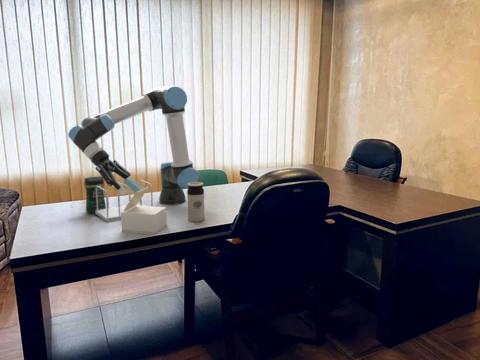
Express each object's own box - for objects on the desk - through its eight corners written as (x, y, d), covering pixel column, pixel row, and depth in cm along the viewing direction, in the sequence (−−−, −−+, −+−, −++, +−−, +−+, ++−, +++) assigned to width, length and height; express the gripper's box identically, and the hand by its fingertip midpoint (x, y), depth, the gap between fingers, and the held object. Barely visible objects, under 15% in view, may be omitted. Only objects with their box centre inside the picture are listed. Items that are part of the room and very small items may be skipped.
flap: (125, 211, 165) (109, 198, 165) (136, 205, 174) (122, 193, 175) (137, 192, 161) (122, 179, 162) (148, 187, 171) (134, 175, 172)
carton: (121, 232, 166) (120, 212, 164) (135, 223, 177) (134, 205, 176) (155, 234, 162) (154, 214, 160) (167, 226, 174) (166, 207, 172)
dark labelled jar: (188, 217, 187) (187, 182, 183) (204, 216, 188) (203, 181, 184) (187, 222, 179) (186, 185, 176) (204, 221, 180) (203, 185, 176)
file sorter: (106, 222, 180) (104, 190, 177) (95, 214, 194) (92, 184, 190) (154, 213, 195) (153, 183, 192) (141, 206, 209) (139, 178, 205)
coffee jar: (89, 215, 192) (86, 179, 188) (84, 211, 198) (81, 176, 194) (108, 211, 197) (105, 176, 194) (103, 208, 204) (100, 174, 200)
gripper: (106, 157, 180) (138, 191, 179) (76, 164, 159) (112, 202, 158) (115, 146, 177) (147, 180, 177) (86, 152, 157) (123, 191, 156)
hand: (131, 191), depth 168 cm, fingers open, 9 cm apart
